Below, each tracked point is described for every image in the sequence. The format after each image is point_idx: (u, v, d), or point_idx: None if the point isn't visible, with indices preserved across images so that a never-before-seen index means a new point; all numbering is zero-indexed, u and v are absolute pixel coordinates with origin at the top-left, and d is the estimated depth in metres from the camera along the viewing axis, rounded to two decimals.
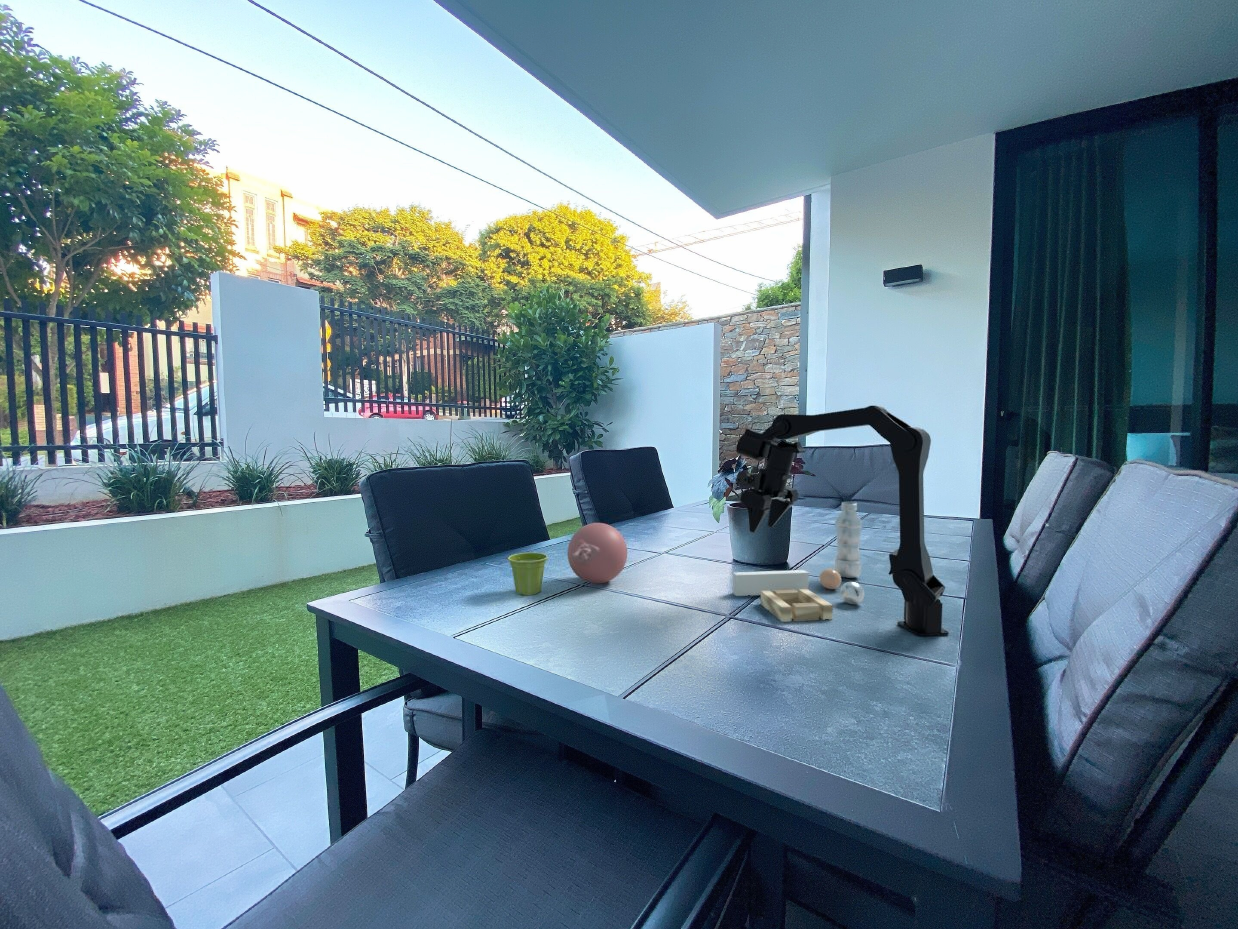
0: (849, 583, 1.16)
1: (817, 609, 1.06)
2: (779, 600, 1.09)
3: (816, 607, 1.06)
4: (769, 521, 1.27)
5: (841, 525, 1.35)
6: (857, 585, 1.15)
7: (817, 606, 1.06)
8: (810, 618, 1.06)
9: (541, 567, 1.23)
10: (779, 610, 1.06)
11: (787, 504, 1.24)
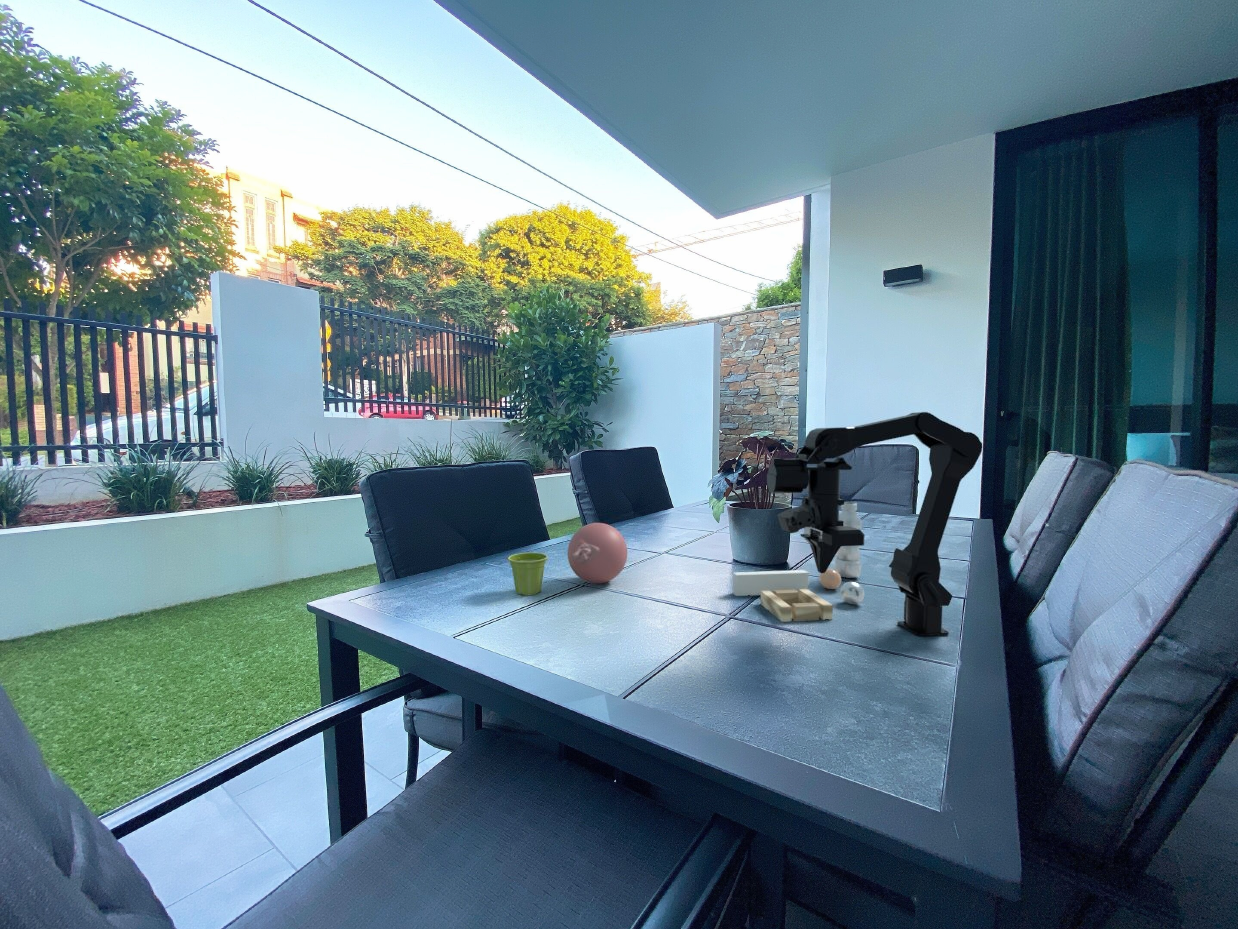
0: (849, 583, 1.16)
1: (817, 609, 1.06)
2: (779, 600, 1.09)
3: (816, 607, 1.06)
4: (819, 567, 1.00)
5: None
6: (857, 585, 1.15)
7: (817, 606, 1.06)
8: (810, 618, 1.06)
9: (541, 567, 1.23)
10: (779, 610, 1.06)
11: None
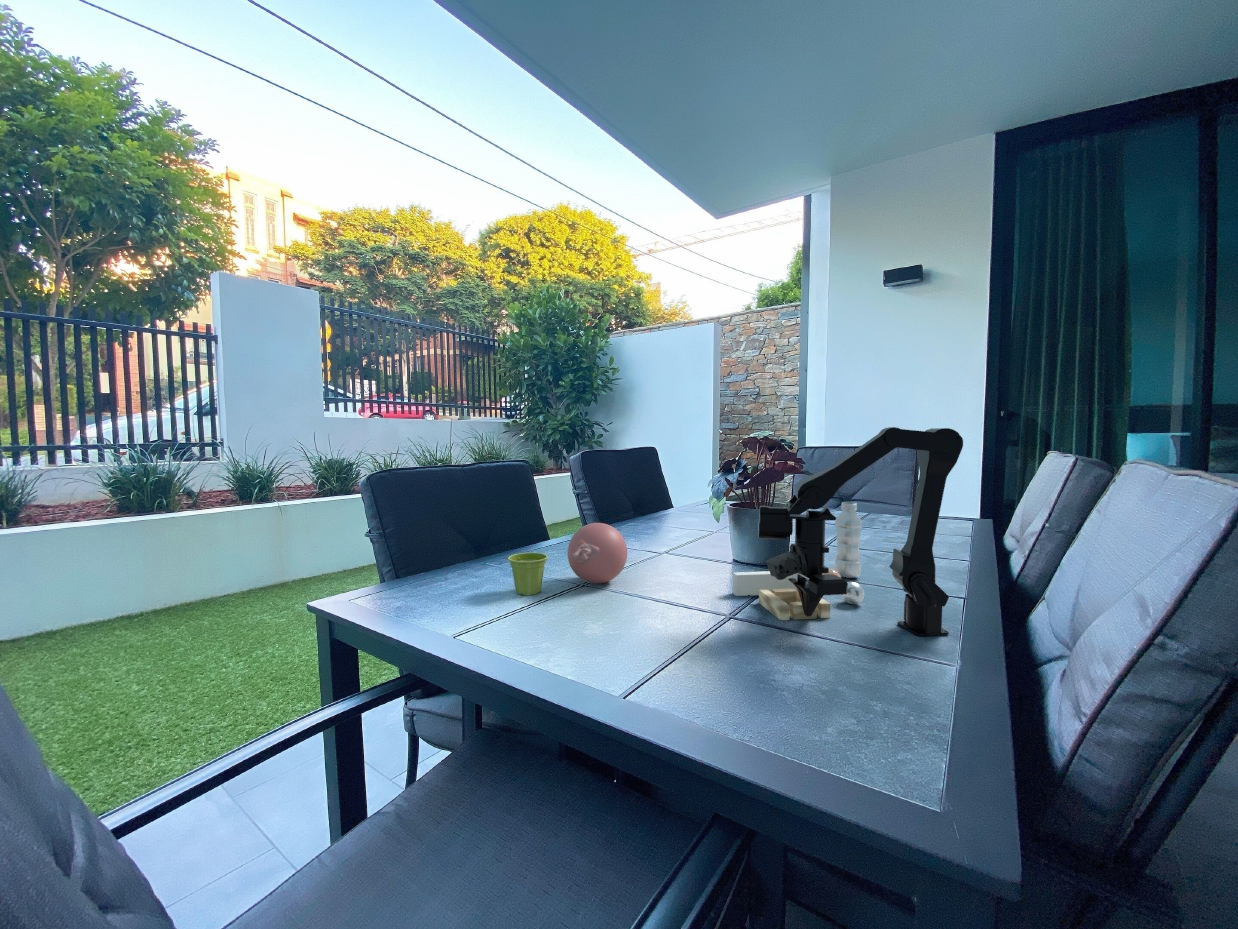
0: (849, 583, 1.16)
1: None
2: (777, 599, 1.10)
3: None
4: (805, 610, 1.05)
5: (841, 525, 1.35)
6: (857, 585, 1.15)
7: None
8: None
9: (541, 567, 1.23)
10: (778, 608, 1.07)
11: None
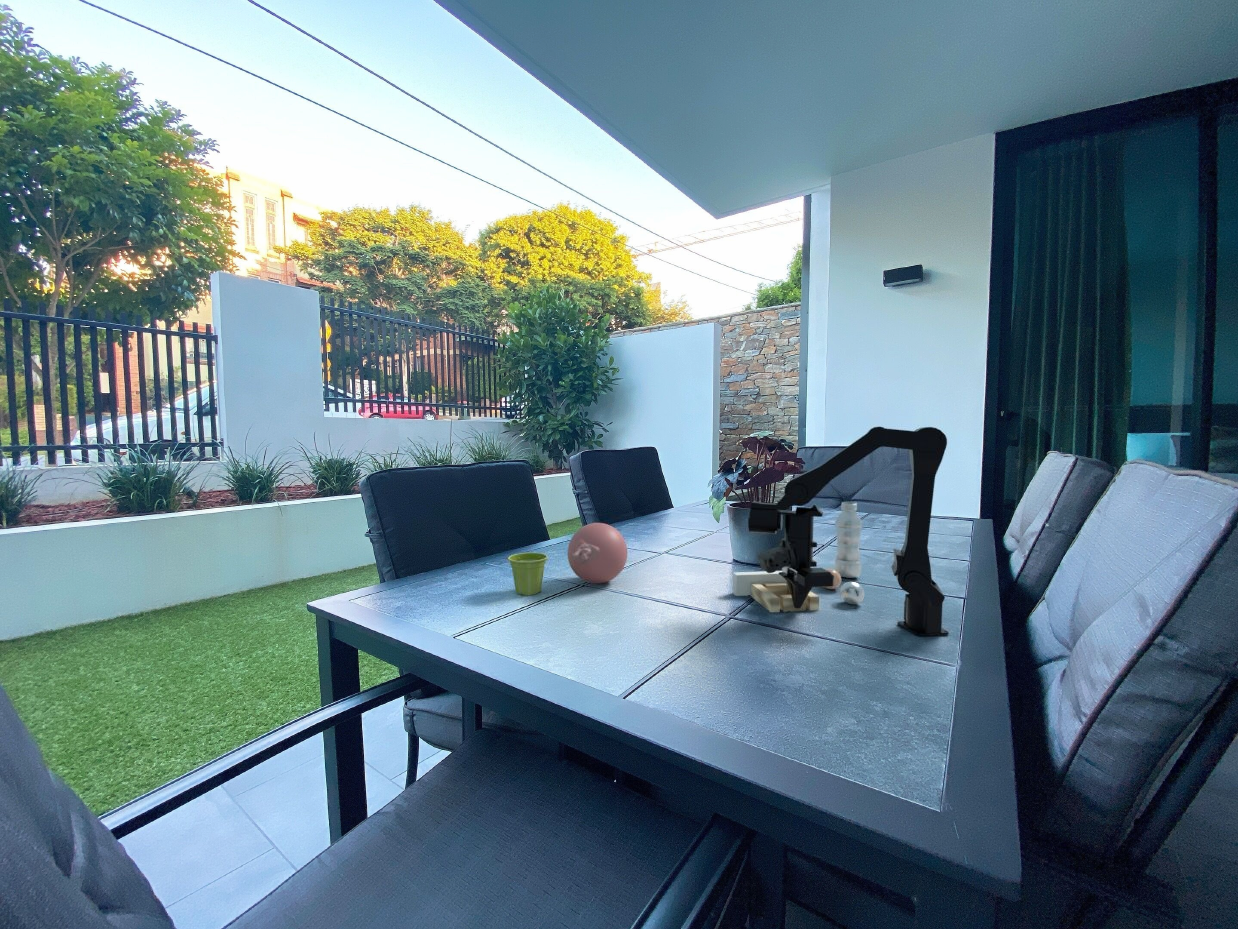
0: (849, 583, 1.16)
1: None
2: (768, 592, 1.15)
3: None
4: (795, 603, 1.10)
5: (841, 525, 1.35)
6: (857, 585, 1.15)
7: None
8: (797, 609, 1.11)
9: (541, 567, 1.23)
10: (768, 601, 1.12)
11: None
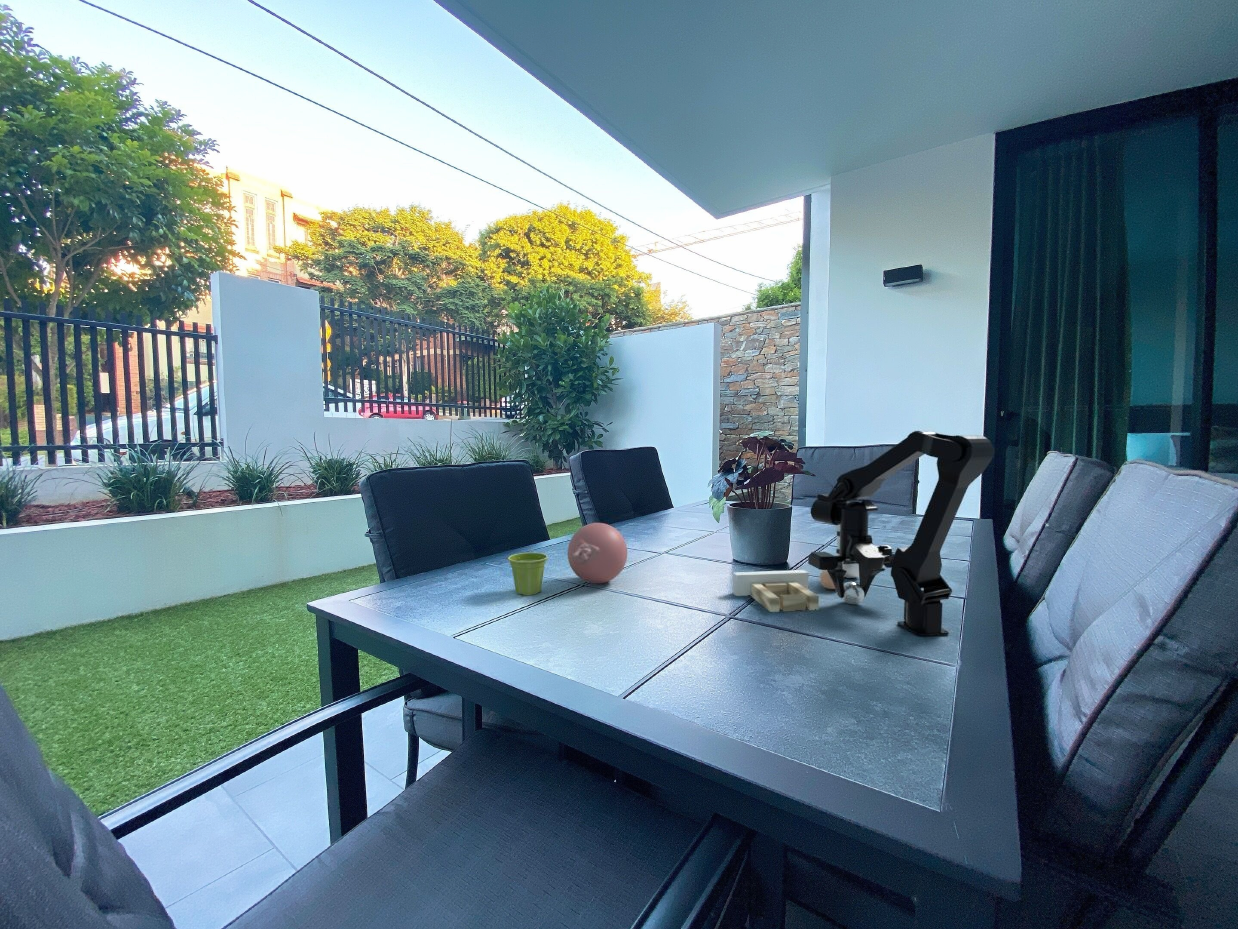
0: (849, 583, 1.16)
1: (804, 600, 1.12)
2: (768, 592, 1.15)
3: (802, 598, 1.12)
4: None
5: None
6: (857, 585, 1.15)
7: (804, 597, 1.12)
8: (797, 608, 1.12)
9: (541, 567, 1.23)
10: (768, 601, 1.12)
11: None
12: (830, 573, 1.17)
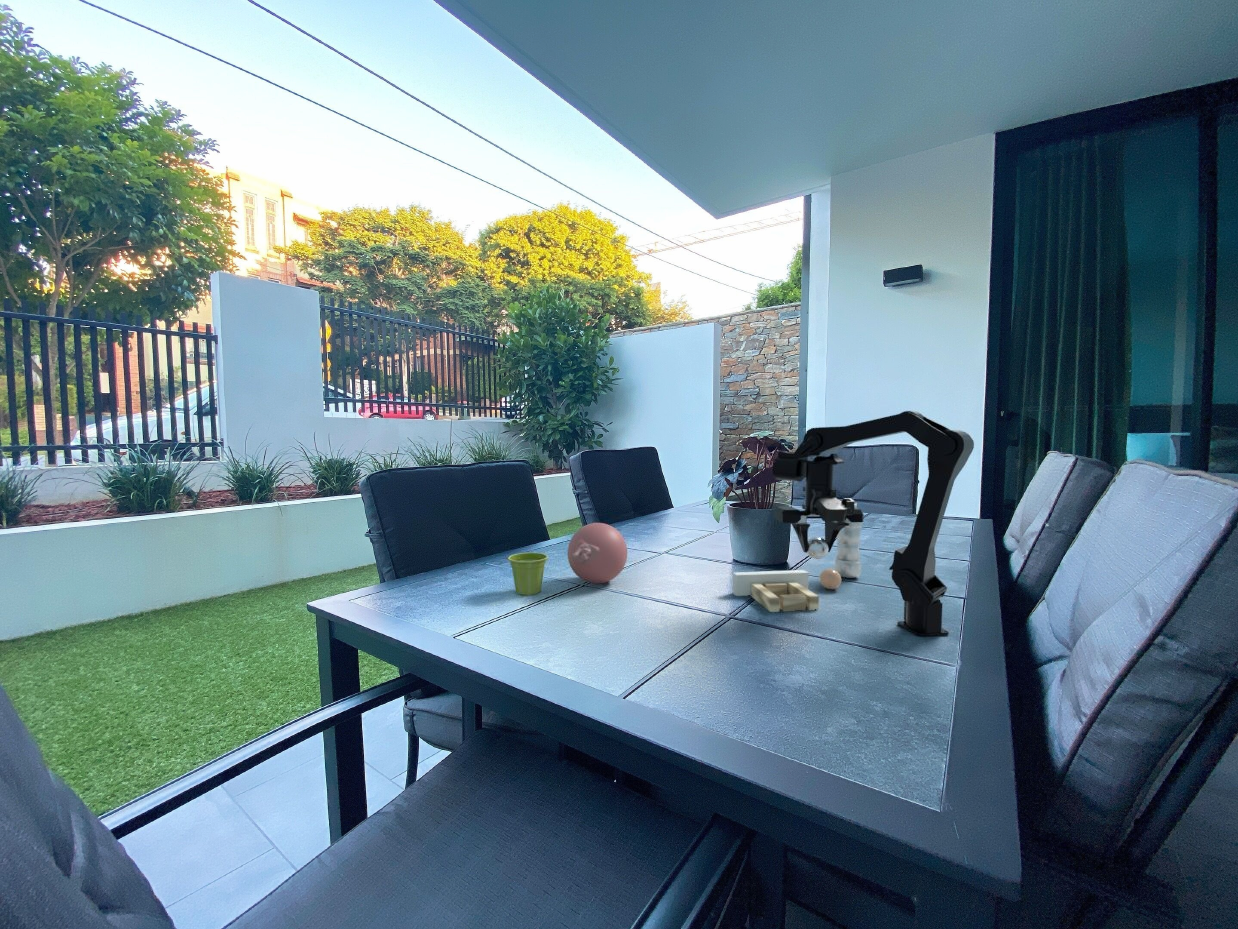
0: (814, 538, 1.16)
1: (804, 600, 1.12)
2: (768, 592, 1.15)
3: (802, 598, 1.12)
4: None
5: None
6: (821, 539, 1.15)
7: (804, 597, 1.12)
8: (797, 608, 1.12)
9: (541, 567, 1.23)
10: (768, 601, 1.12)
11: None
12: (795, 528, 1.17)
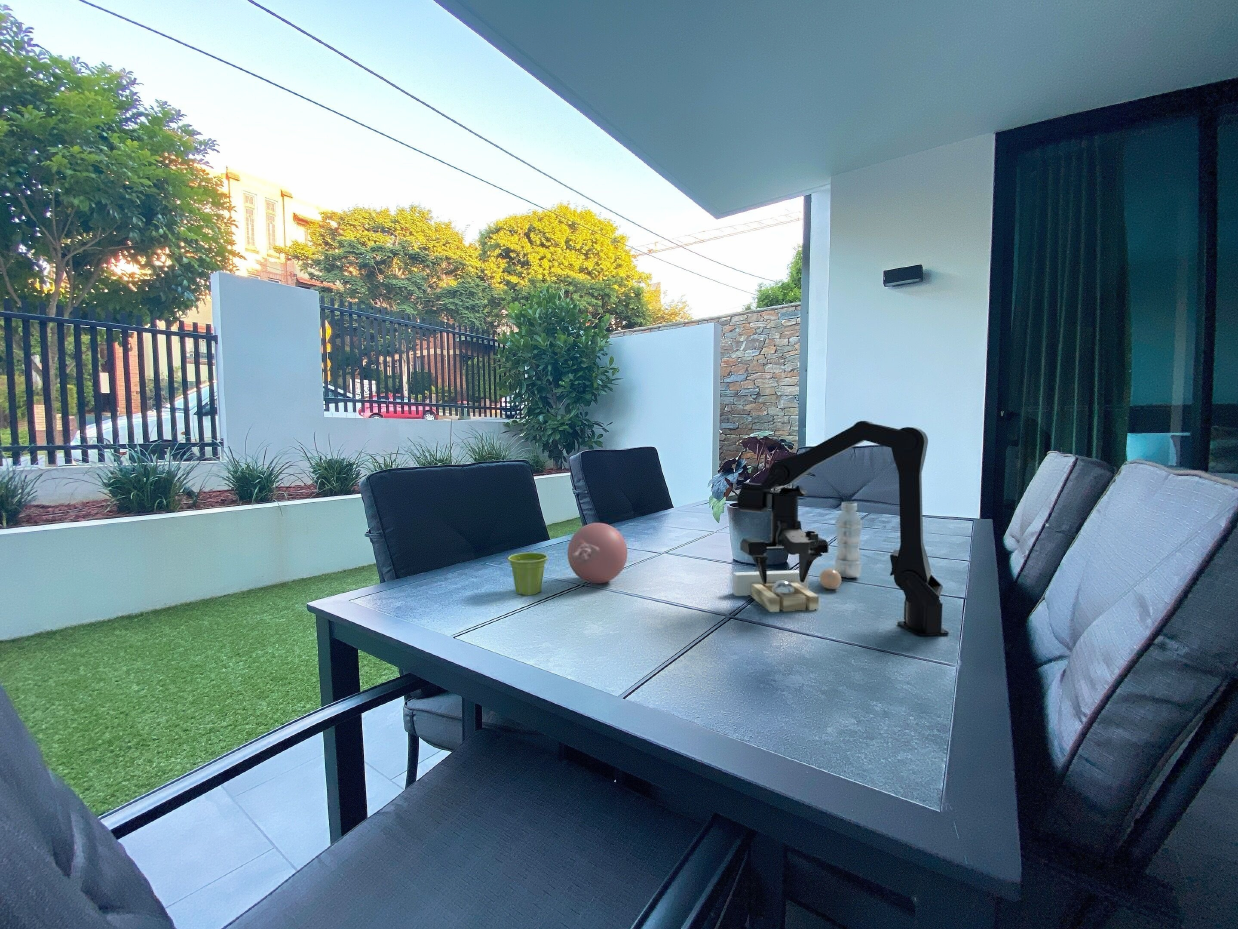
0: (780, 582, 1.17)
1: (804, 600, 1.12)
2: (768, 592, 1.15)
3: (802, 598, 1.12)
4: None
5: (841, 525, 1.35)
6: (787, 583, 1.16)
7: (804, 597, 1.12)
8: (797, 608, 1.12)
9: (541, 567, 1.23)
10: (768, 601, 1.12)
11: None
12: (754, 559, 1.18)
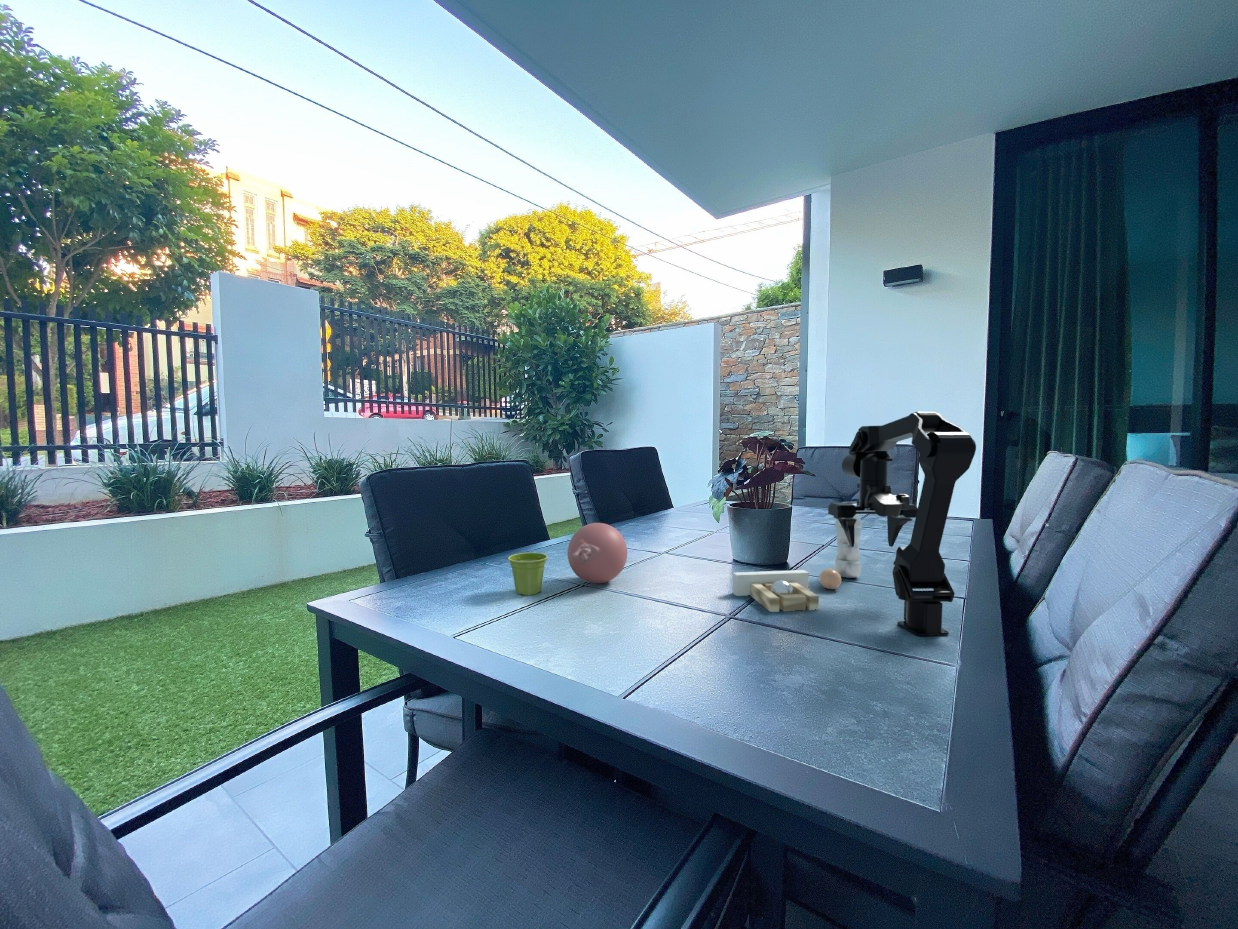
0: (778, 582, 1.17)
1: (804, 600, 1.12)
2: (768, 592, 1.15)
3: (802, 598, 1.12)
4: None
5: None
6: (785, 583, 1.16)
7: (804, 597, 1.12)
8: (797, 608, 1.12)
9: (541, 567, 1.23)
10: (768, 601, 1.12)
11: None
12: (842, 523, 1.21)
